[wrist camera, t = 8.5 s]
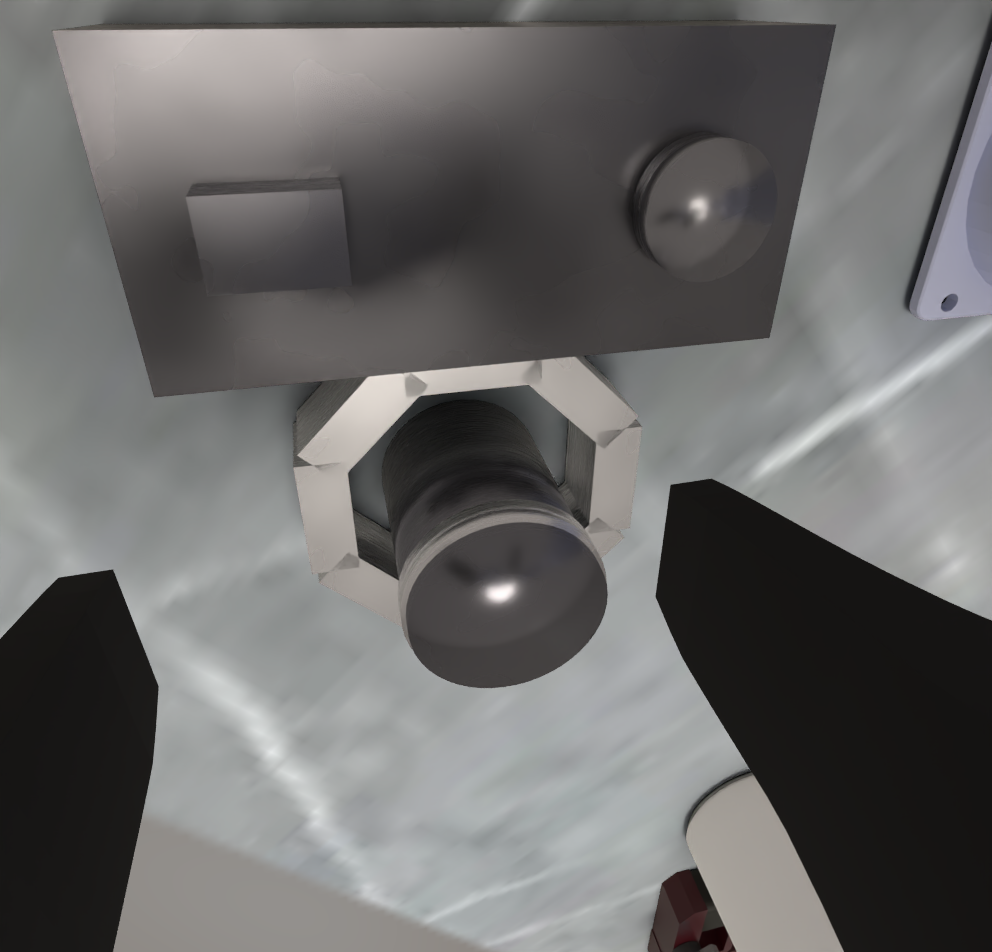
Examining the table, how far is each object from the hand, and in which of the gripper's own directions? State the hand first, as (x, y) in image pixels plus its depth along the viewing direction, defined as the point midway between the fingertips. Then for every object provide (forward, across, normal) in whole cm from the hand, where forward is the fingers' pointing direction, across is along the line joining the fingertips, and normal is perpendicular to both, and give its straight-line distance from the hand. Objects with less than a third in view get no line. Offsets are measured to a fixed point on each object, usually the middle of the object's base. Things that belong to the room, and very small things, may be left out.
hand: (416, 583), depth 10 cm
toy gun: (+10, -16, +35) cm, 40 cm away
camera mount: (+10, -2, +1) cm, 10 cm away
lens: (+10, -2, +5) cm, 11 cm away
